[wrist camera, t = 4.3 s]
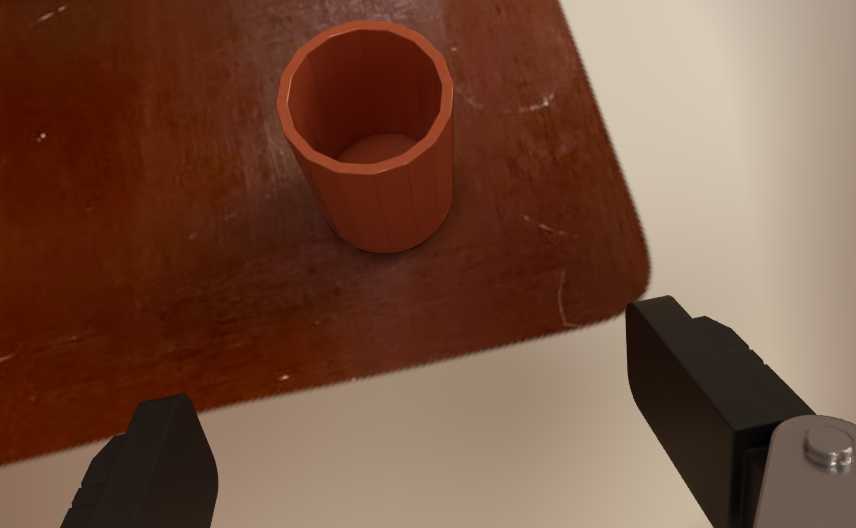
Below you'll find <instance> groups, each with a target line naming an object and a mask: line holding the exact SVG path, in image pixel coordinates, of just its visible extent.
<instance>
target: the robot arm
mask: <svg viewBox="0 0 856 528" xmlns="http://www.w3.org/2000/svg"><path fill="white" fill-rule="evenodd" d="M625 318H626V342H627V343H626V344H627V370H628V379H629V385H630V389H631V392H632V395H633V398H634V400H635V402H636V405H637V407H638V408H639V410H640V411H641V413H642V415H643V416H644V418H645V419H646V421H647V423H648V424H649V426H650V427H651V429H652V431H653V432H654V434H655V435H656V437H657V439H658V440H659V442H660V443H661V445H662V446H663V448H664V450H665V451H666V453H667V454H668V456H669V457H670V459H671V461H672V462H673V464H674V466H675V467H676V469H677V470H678V472H679V474H680V475H681V477H682V478H683V480H684V481H685V483H686V485H687V486H688V488H689V489H690V491H691V493H692V494H693V496H694V497H695V499H696V500H697V502H698V504H699V505H700V507H701V509H702V510H703V511H704V513H705V515H706V516H707V518H708V520H709V521H710V523H711V524H712V526H713V527H714V528H856V425H855V424H853V423H851V422H848V421H845V420H842V419H839V418H834V417H829V416H823V415H816V413H815V412H814V411H812V409H811V408H810V407H809V406H808V405H807V404H806V403H805V402H804V401H803V400H802V399H801V398H800V397H799V396H798V395H796V393H795V392H794V391H793V390H792V389H791V388H790V387H789V386H788V385H787V384H786V383H785V382H784V381H783V380H782V379H781V378H780V377H779V376H778V375H777V374H776V373H775V372H774V371H773V370H772V369H771V368H770V367H769V366H768V365H767V364H766V365H764V363H763V360H762V359H761V358H760V357H759V356H758V355H757V354H756V353H755V352H754V351H753V350H750V349H749V346H748V345H747V344H746V343H745V342H744V341H743V340H742V339H741V338H740V337H739V336H738V335H737V334H736V333H735V332H734V331H733V330H732V329H731V328H729V327H727V326H725V325H723V324H721V323H719V322H717V321H714V320H712V319H711V318H709V317H706V316H702V317H698V318H693V319H692V318H691V316H690V315H689V314H688V313H687V312H686V311H685V310H684V309H683V308H682V307H681V306H680V305H679V303H678V302H677V301H676V300H675V299H674V298H673V297H671V296H669V295H667V296H663V297H657V298H652V299H648V300H643V301H638V302H633V303H629V304H628V305H627V307H626V313H625ZM81 486H82V487H81V488H79V489H78V491H77V493H76V495H75V497H74V500H73V501H72V508H70V509H69V510H68V512H67V514H66V516H65V518H64V521H63V523H62V525H61V527H60V528H210V526H211V521H212V517H213V512H214V507H215V503H216V498H217V494H218V472H217V467H216V463H215V459H214V456H213V454H212V451H211V449H210V446H209V444H208V441H207V439H206V437H205V434H204V431H203V429H202V426H201V424H200V421H199V419H198V417H197V414H196V412H195V409H194V407H193V404H192V402H191V400H190V398H189V397H188V396H187V395H186V394H184V393H183V394H178V395H173V396H168V397H163V398H158V399H153V400H148V401H144V402H141V403H140V404H139V405H138V406H137V408H136V411H135V413H134V415H133V418H132V420H131V422H130V425H129V427H128V429H127V432H126V434H123V435H119V436H114V437H113V438H112V439H111V440H110V441H109V442H108V443H107V444H106V446H105V447H104V448H103V449H102V450H101V451H100V452H99V453H98V454H97V455H96V456H95V457H94V458H93V460H92V461H91V464H90V466H89V468H88V470H87V472H86V474H85V476H84V478H83V480H82V482H81Z"/></svg>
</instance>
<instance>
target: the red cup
mask: <svg viewBox="0 0 856 528" xmlns="http://www.w3.org/2000/svg"><path fill="white" fill-rule="evenodd" d="M276 108H277V111H278V115H279V118H280V122H281V125H282V129H283V132H284V135H285V137H286V139H287V141H288V143H289V145H290V147H291V149H292V151H293V154H294V156H295V158H296V160H297V162H298V164H299V166H300V168H301V170H302V172H303V174H304V176H305V179H306V181H307V183H308V185H309V187H310V189H311V191H312V193H313V195H314V197H315V199H316V201H317V204H318V206H319V208H320V210H321V212H322V214H323V216H324V218H325V219H326V220H327V221H328V223H329V225H330V226H331V228H332V229H333V230H334V232H335V233H336V234H337V235H338V236H339V237H340V238H342V239H343V240H344V241H346V242H347V243H349V244H351V245H352V246H354V247H357V248H359V249H362V250H365V251H369V252H374V253H394V252H400V251H404V250H407V249H410V248H413V247H415V246H417V245H419V244H421V243H422V242H424V241H425V240H427V239H428V238H430V237H431V236H432V235H433V234H434V233H435V232H436V231H437V230H438V229H439V227H440V226H441V225H442V223H443V222H444V220H445V219H446V217H447V214H448V212H449V210H450V206H451V203H452V197H453V181H454V85H453V81H452V78H451V76H450V73H449V70H448V68H447V65H446V63H445V60H444V58H443V56H442V55H441V54H440V53H439V52H438V51H437V50H436V49H435V48H434V47H433V46H432V45H431V44H430V43H429V42H428V41H427V40H426V39H425V38H424V37H423V36H422V35H420V34H419V33H417V32H414V31H412V30H410V29H407V28H405V27H402V26H400V25H397V24H395V23H393V22H391V23H390V22H386V21H364V20H358V21H353V22H350V23H346V24H343V25H339V26H336V27H332V28H329V29H326V30H324V31H323V32H321V33H320V34H318V35H317V36H316V37H314V38H313V39H311V40H310V41H309V42H307V43H306V44H304V45H303V46H302V47H300V48H299V49H298V50H297V52H296V53H295V55H294V56H293V58H292V59H291V61H290V62H289V64H288V65H287V67H286V68H285V70H284V71H283V73H282V75H281V79H280V85H279V90H278V96H277V102H276Z"/></svg>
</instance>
